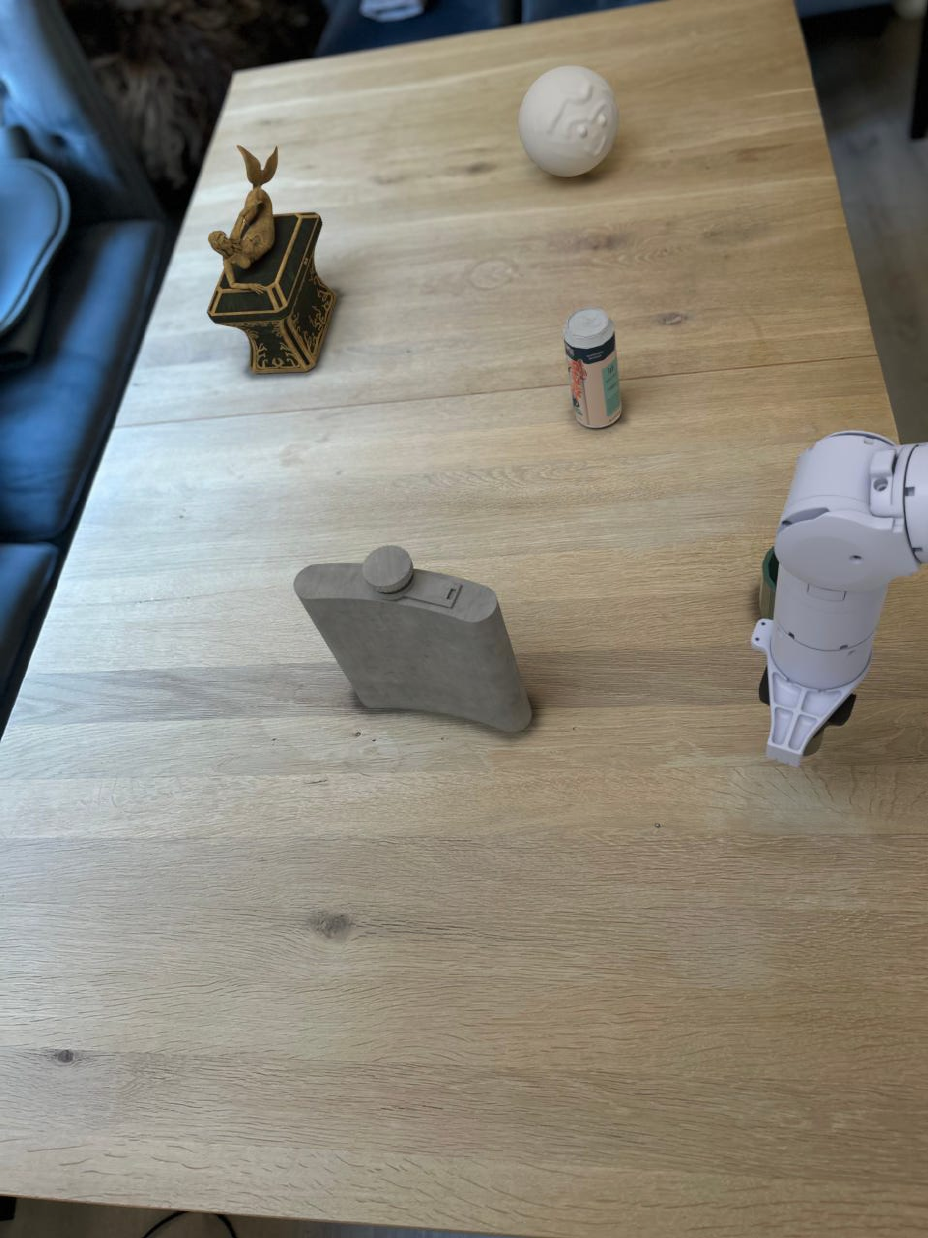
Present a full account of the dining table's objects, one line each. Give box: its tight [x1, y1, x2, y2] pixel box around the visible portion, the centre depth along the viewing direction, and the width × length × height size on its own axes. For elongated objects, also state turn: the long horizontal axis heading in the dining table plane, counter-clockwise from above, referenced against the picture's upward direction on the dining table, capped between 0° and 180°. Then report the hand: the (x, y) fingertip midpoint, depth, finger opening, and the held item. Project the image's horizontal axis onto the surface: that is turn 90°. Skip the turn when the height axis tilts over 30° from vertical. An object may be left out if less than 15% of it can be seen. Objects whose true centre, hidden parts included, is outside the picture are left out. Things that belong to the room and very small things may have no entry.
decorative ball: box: [517, 64, 620, 178], centre depth 119 cm, size 12×12×12 cm
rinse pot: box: [758, 545, 779, 620], centre depth 82 cm, size 7×7×6 cm
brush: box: [802, 728, 826, 758], centre depth 68 cm, size 3×3×7 cm
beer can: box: [562, 306, 623, 429], centre depth 96 cm, size 5×5×12 cm
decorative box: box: [206, 144, 338, 374], centre depth 110 cm, size 20×10×20 cm, turn 171°
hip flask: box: [292, 544, 533, 734], centre depth 78 cm, size 16×4×20 cm, turn 73°
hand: (806, 716), depth 68 cm, fingers closed on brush
